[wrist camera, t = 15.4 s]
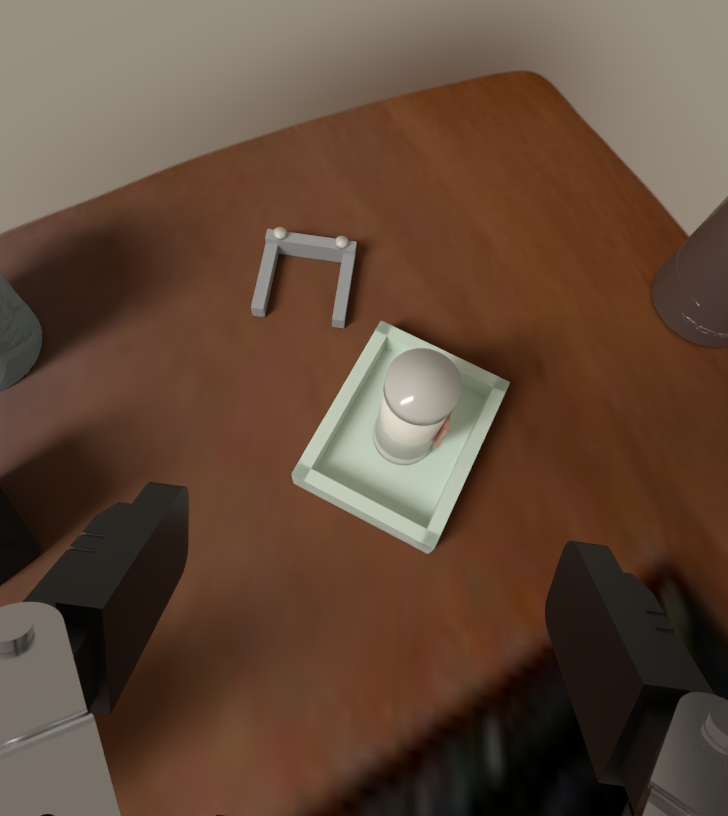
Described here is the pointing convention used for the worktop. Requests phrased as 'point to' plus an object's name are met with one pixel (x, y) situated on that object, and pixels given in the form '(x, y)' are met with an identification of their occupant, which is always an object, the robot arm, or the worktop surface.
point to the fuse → (416, 405)
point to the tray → (382, 480)
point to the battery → (14, 541)
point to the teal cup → (16, 336)
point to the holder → (308, 248)
